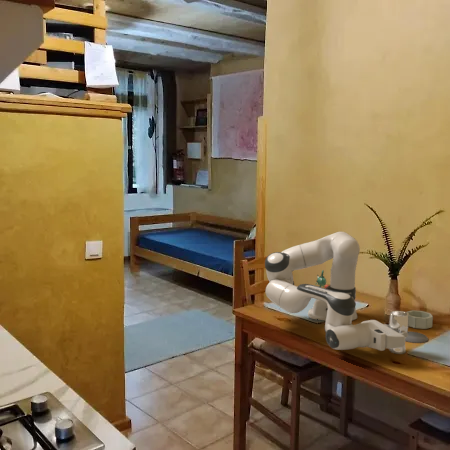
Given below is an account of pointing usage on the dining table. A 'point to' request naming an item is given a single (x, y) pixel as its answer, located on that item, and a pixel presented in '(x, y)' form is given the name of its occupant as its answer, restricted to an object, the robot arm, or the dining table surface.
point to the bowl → (419, 319)
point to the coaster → (416, 337)
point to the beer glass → (398, 327)
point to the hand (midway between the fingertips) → (400, 330)
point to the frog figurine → (321, 280)
